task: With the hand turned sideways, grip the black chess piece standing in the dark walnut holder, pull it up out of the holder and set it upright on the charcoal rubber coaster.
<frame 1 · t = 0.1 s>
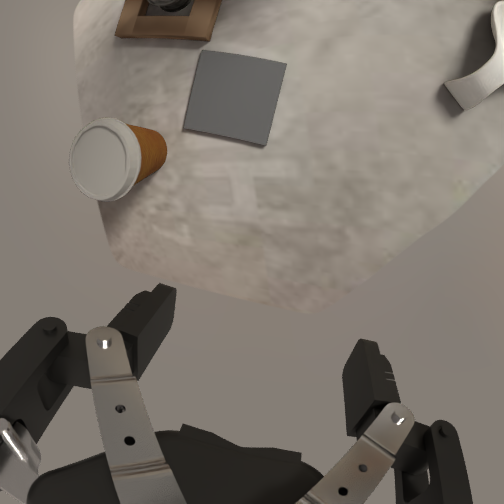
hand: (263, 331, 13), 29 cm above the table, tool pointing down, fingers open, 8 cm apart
spoon rest: (493, 57, 27), on the table
charcoal coaster: (234, 95, 36), on the table
disposable coffee cup: (147, 151, 40), on the table
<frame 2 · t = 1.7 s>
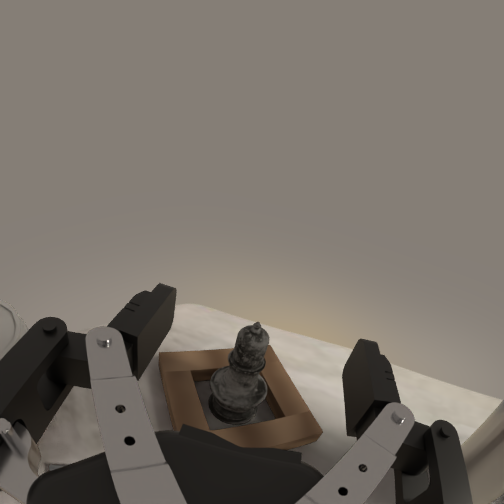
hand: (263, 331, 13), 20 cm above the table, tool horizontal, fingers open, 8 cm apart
disposable coffee cup: (16, 420, 20), on the table
black chess piece: (232, 406, 31), resting in walnut holder
walnut holder: (232, 405, 31), on the table
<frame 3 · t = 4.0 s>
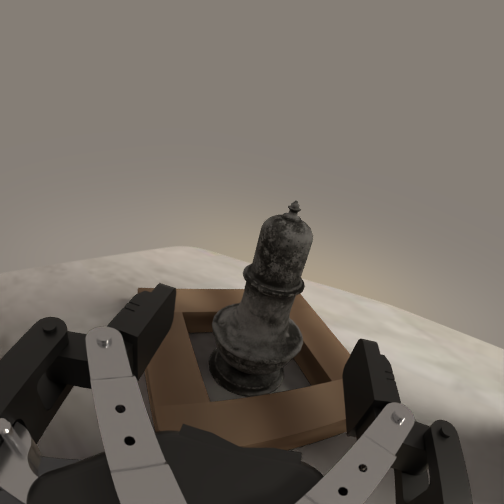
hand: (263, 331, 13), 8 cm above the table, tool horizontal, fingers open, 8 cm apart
black chess piece: (245, 369, 21), resting in walnut holder
walnut holder: (246, 367, 21), on the table
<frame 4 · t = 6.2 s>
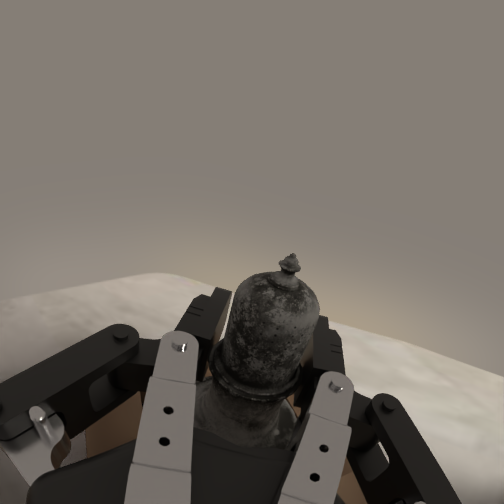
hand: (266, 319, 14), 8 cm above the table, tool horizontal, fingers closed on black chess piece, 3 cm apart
black chess piece: (223, 455, 14), resting in walnut holder, touching gripper
walnut holder: (224, 453, 14), on the table
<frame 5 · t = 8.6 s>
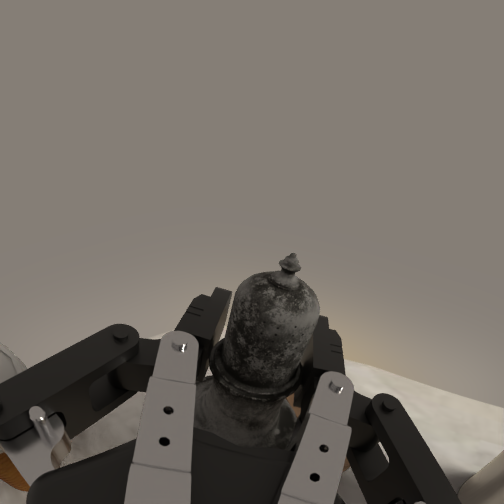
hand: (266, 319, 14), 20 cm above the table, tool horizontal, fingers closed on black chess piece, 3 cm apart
disposable coffee cup: (24, 463, 17), on the table
black chess piece: (224, 454, 14), point 12 cm above the table, touching gripper
when the fingers open (9 cm above the table, at t = 11.5 s): black chess piece drops 1 cm, resting on charcoal coaster.
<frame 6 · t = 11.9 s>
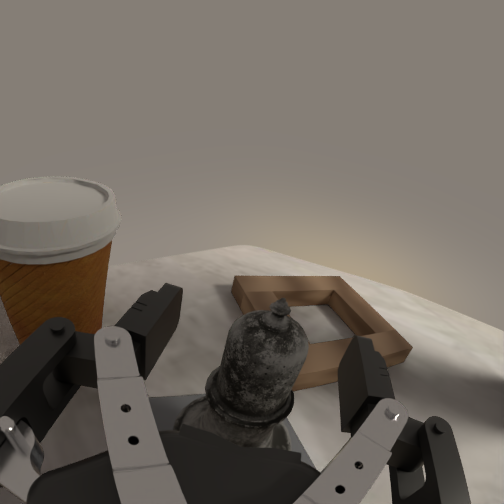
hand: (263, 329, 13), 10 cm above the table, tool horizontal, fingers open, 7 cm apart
charcoal coaster: (218, 467, 15), on the table
disposable coffee cup: (62, 351, 20), on the table
black chess piece: (221, 467, 15), resting on charcoal coaster
walnut holder: (317, 328, 30), on the table
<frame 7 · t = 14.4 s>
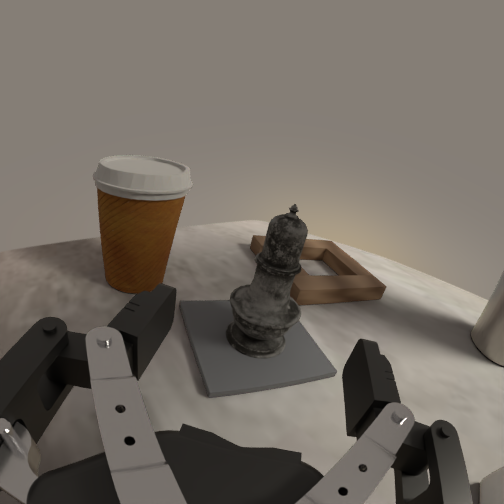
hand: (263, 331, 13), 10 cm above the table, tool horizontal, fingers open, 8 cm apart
charcoal coaster: (252, 341, 27), on the table
disposable coffee cup: (134, 278, 31), on the table
black chess piece: (255, 339, 26), resting on charcoal coaster
walnut holder: (314, 273, 42), on the table
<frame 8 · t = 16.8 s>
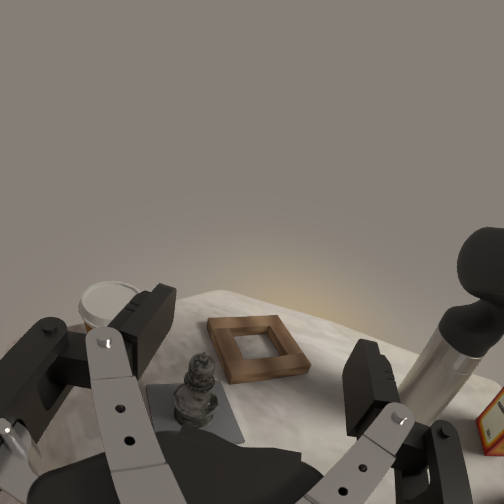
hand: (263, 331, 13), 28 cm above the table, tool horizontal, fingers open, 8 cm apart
baking soda box: (490, 438, 37), on the table
charcoal coaster: (192, 415, 37), on the table
disposable coffee cup: (116, 363, 42), on the table
black chess piece: (193, 415, 37), resting on charcoal coaster
walnut holder: (255, 349, 52), on the table
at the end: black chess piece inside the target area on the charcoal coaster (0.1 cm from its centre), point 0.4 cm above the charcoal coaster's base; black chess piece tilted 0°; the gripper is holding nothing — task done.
